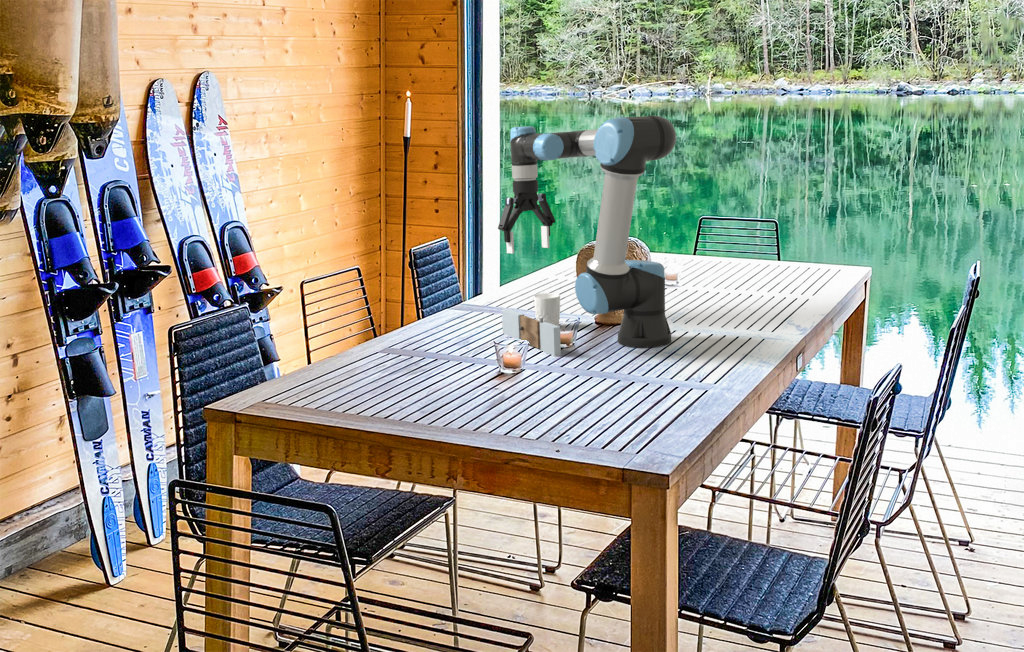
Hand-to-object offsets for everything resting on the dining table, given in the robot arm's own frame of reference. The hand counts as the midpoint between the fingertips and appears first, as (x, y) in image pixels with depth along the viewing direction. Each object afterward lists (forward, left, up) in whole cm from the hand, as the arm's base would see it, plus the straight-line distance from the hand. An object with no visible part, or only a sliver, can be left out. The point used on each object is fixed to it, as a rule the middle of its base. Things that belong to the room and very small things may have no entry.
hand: (528, 250), depth 333 cm
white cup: (-5, -3, -24) cm, 24 cm away
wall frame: (-22, +12, -23) cm, 34 cm away
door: (-21, +12, -23) cm, 34 cm away
